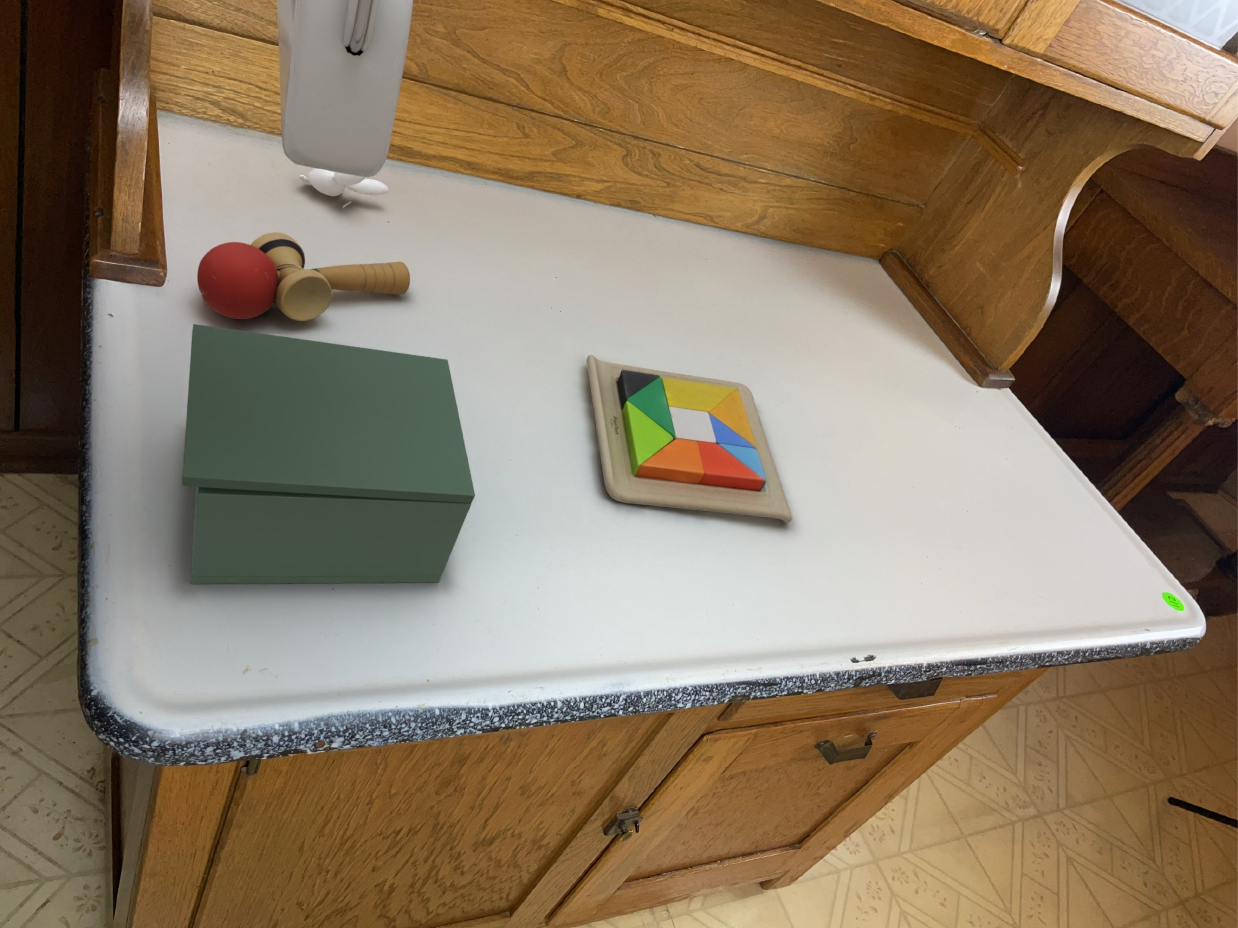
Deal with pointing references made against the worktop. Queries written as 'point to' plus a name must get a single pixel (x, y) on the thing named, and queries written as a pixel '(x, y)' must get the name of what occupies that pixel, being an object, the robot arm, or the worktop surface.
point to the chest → (320, 538)
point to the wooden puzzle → (683, 442)
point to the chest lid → (321, 419)
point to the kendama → (285, 279)
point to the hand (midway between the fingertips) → (306, 150)
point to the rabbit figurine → (342, 183)
